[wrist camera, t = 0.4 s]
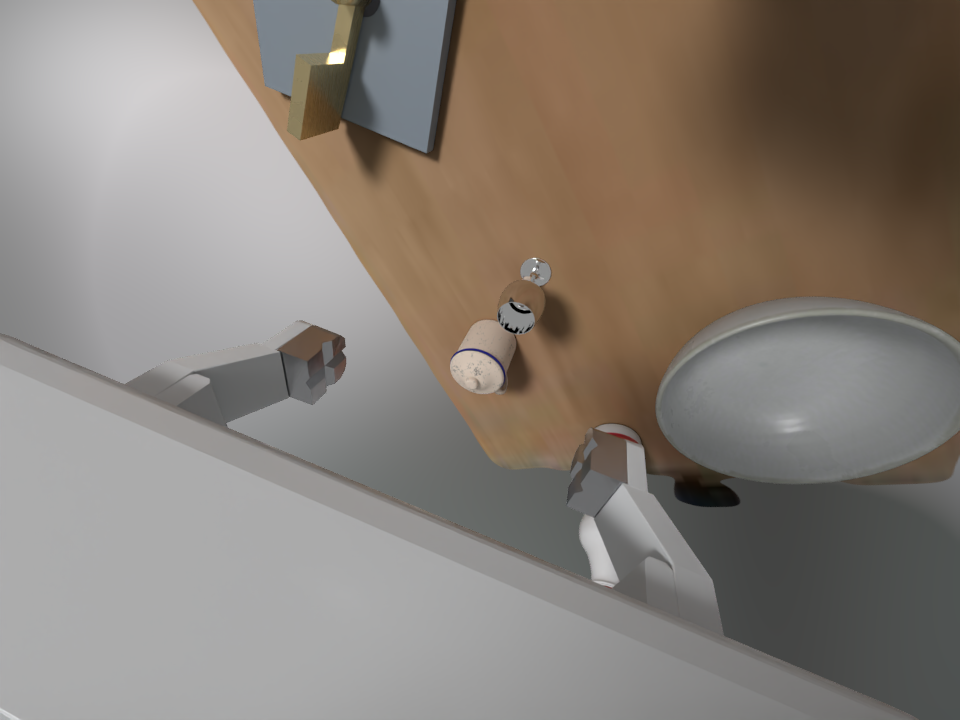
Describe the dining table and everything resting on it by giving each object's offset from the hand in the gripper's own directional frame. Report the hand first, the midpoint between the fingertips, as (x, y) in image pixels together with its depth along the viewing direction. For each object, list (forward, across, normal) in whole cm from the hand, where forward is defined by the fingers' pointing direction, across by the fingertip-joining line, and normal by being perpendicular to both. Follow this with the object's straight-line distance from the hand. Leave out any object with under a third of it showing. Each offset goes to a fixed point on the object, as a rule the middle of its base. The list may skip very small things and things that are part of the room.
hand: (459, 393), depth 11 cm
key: (+36, +28, -8) cm, 47 cm away
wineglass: (+42, +1, +12) cm, 43 cm away
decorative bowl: (+42, -31, +13) cm, 54 cm away
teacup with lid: (+43, +4, +28) cm, 52 cm away
